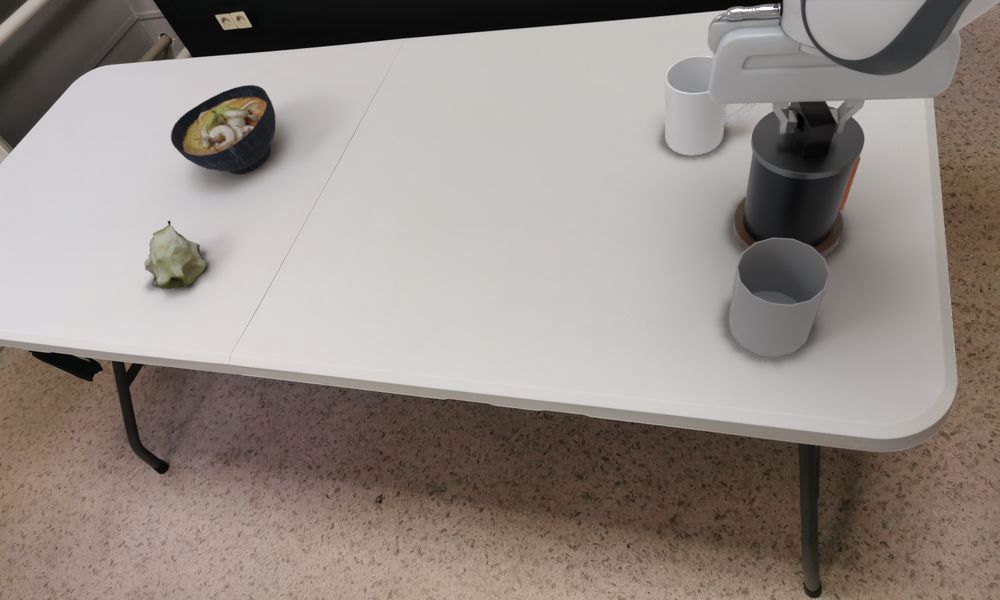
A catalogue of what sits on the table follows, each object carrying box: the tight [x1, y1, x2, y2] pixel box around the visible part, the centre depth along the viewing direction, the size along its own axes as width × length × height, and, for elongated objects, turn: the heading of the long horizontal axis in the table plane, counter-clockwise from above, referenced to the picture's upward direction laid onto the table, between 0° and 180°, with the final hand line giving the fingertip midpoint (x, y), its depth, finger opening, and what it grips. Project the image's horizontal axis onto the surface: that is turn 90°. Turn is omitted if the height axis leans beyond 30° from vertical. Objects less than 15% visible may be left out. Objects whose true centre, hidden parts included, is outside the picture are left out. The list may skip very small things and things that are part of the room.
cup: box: [727, 238, 831, 358], centre depth 64 cm, size 8×8×10 cm
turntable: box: [732, 196, 844, 258], centre depth 75 cm, size 12×12×2 cm
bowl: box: [170, 84, 277, 175], centre depth 104 cm, size 17×17×10 cm
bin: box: [743, 101, 866, 247], centre depth 67 cm, size 11×11×17 cm
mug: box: [664, 55, 757, 157], centre depth 82 cm, size 12×8×10 cm, turn 81°
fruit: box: [143, 220, 207, 290], centre depth 92 cm, size 9×9×8 cm
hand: (810, 129), depth 63 cm, fingers closed on bin, 3 cm apart
